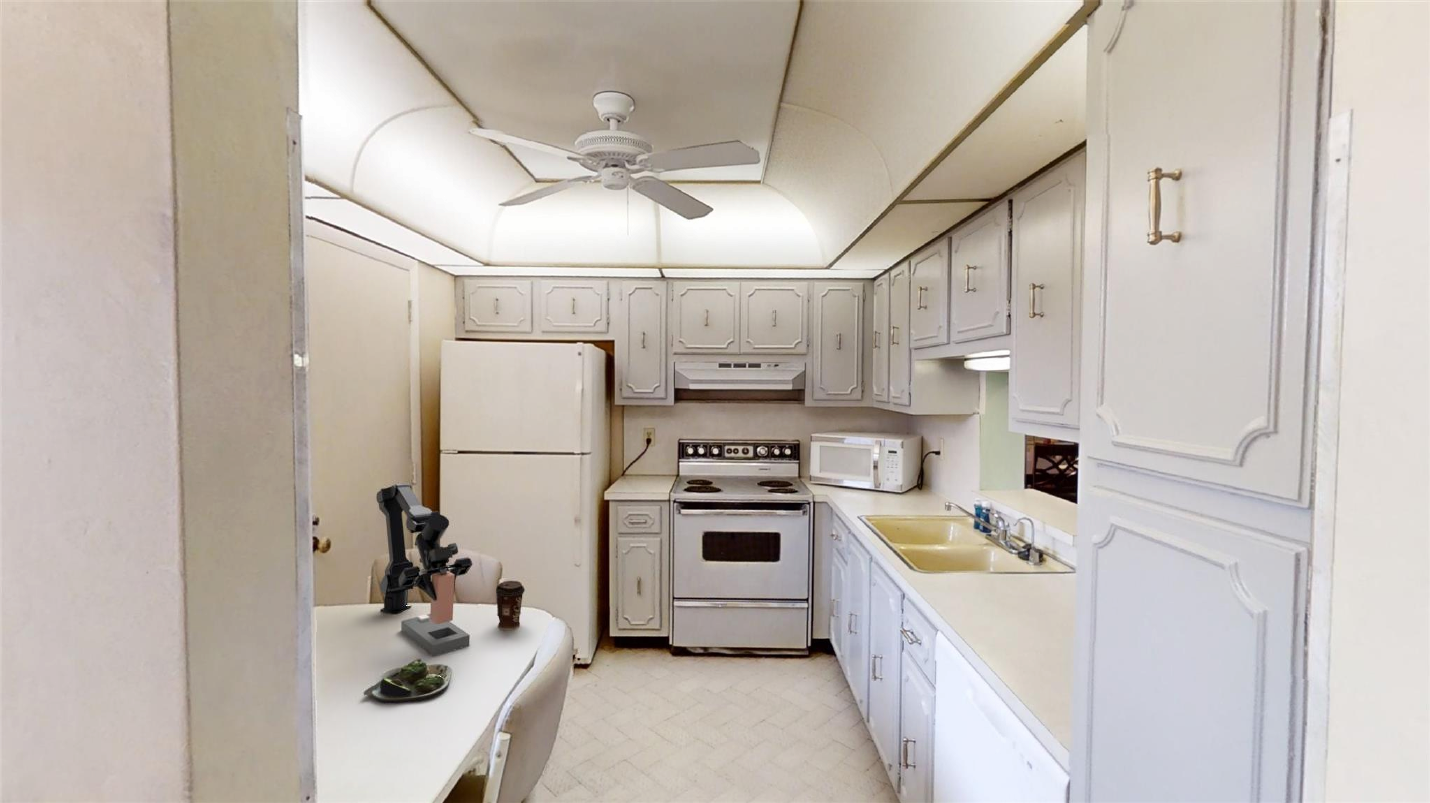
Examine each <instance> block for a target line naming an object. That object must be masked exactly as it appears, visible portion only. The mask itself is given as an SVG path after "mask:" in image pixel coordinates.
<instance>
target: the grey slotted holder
mask: <svg viewBox="0 0 1430 803" xmlns="http://www.w3.org/2000/svg"><path fill="white" fill-rule="evenodd" d="M400 623H401V625H400V627H401V628H400V631H401V632H402V633H403V634H405V635H406V636H407V637H408V638H409V639H410V640H412V641H413V642H414V643H416V644H417V645H418V646H419V647H421V648H422V649H423V650H424V651H426V652H427V653H428V654H429V655H431V656H432V657H435V656H439V655H442V654H445V652H446V653H448V652H452V651H455V650H454V649H456V650H459V649H462V648H461V647H463V648H466V647H468V646H470V638H471V634H469V633H468V632H466V631H465V630H463V629H461V628H460V627H459V626H457V625H456V624H454V623H453V622H452V621H448V622H444V623H441V624H435V623H434V622H433V621H431V620H430V613H427V614H421V615H417V616H415V617H410V618H407V619H404V620H401V622H400Z"/></svg>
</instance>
